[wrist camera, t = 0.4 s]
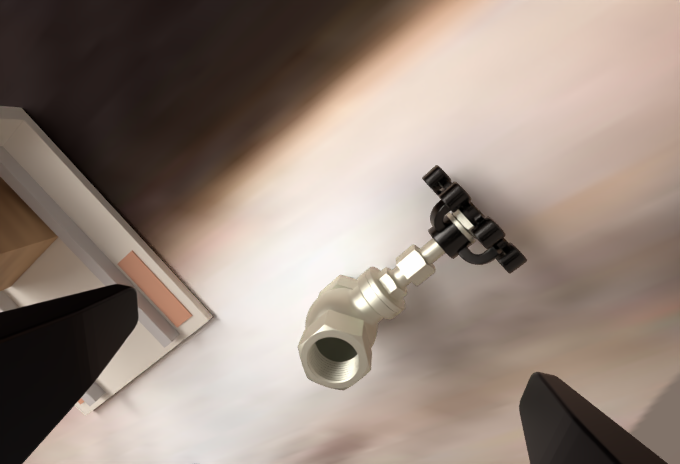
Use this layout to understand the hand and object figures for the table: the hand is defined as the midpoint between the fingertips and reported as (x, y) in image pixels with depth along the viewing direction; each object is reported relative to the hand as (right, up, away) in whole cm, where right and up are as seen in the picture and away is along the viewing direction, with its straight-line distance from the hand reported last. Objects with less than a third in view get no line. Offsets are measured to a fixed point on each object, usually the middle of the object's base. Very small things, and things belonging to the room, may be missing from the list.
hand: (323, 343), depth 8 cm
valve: (+4, +1, +15) cm, 15 cm away
